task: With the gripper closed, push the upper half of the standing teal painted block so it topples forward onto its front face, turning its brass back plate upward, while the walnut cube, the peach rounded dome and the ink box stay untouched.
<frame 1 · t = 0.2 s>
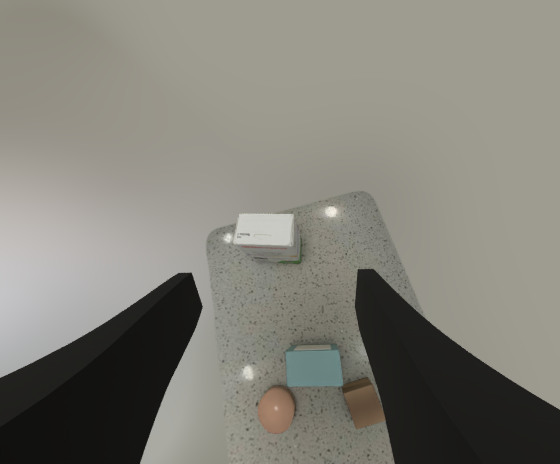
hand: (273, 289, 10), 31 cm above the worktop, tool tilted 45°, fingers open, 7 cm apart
teal block: (315, 358, 37), on the worktop
ink box: (278, 250, 44), on the worktop
walnut cube: (360, 396, 34), on the worktop
peach rounded dome: (279, 404, 36), on the worktop
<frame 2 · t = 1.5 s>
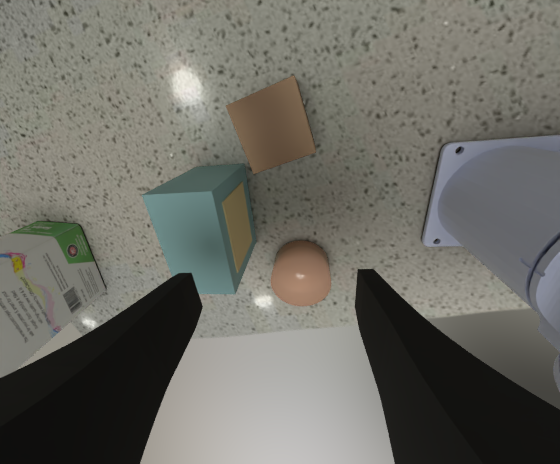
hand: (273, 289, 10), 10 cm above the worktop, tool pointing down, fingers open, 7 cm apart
teal block: (228, 206, 20), on the worktop
ink box: (76, 256, 25), on the worktop
walnut cube: (279, 125, 17), on the worktop
peach rounded dome: (301, 263, 22), on the worktop
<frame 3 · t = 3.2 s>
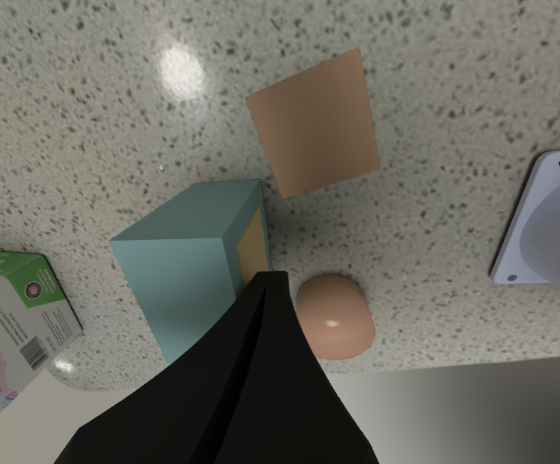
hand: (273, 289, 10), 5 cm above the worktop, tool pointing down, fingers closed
teal block: (237, 233, 15), on the worktop, touching gripper
ink box: (43, 292, 20), on the worktop
walnut cube: (311, 127, 12), on the worktop
peach rounded dome: (329, 300, 18), on the worktop
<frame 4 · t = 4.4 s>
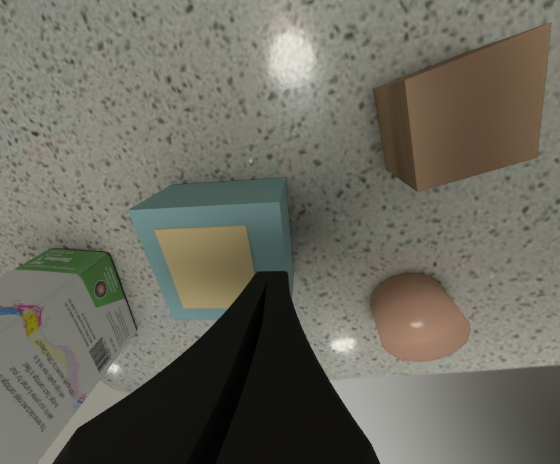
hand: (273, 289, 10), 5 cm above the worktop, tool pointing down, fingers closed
teal block: (288, 247, 13), point 2 cm above the worktop, tilted 90°
ink box: (100, 291, 19), on the worktop
walnut cube: (421, 117, 12), on the worktop
peach rounded dome: (405, 300, 17), on the worktop
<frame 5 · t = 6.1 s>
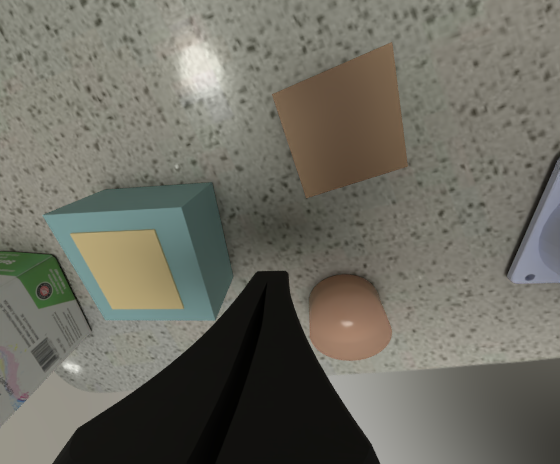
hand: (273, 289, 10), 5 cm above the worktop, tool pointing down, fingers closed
teal block: (213, 250, 14), point 2 cm above the worktop, tilted 90°
ink box: (52, 292, 20), on the worktop
walnut cube: (331, 125, 12), on the worktop
peach rounded dome: (342, 300, 17), on the worktop
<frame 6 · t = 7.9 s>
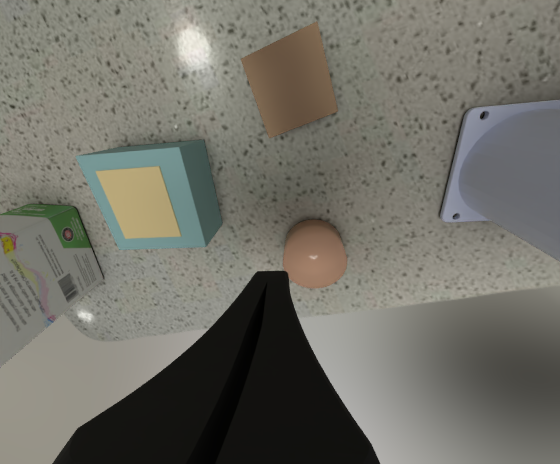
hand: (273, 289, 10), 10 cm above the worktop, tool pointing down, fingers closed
teal block: (204, 192, 17), point 2 cm above the worktop, tilted 90°
ink box: (71, 242, 24), on the worktop
walnut cube: (293, 91, 16), on the worktop
peach rounded dome: (312, 244, 21), on the worktop
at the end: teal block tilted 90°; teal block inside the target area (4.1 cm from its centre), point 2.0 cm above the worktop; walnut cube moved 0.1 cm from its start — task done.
